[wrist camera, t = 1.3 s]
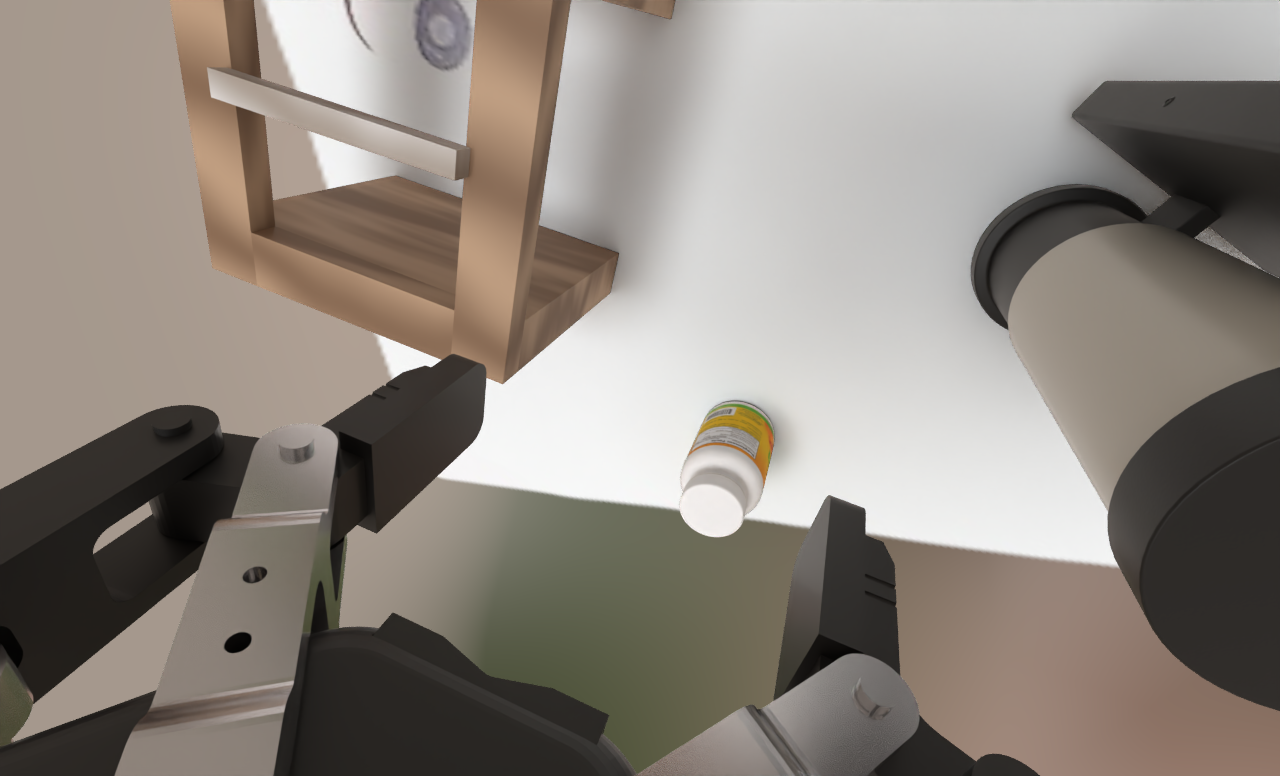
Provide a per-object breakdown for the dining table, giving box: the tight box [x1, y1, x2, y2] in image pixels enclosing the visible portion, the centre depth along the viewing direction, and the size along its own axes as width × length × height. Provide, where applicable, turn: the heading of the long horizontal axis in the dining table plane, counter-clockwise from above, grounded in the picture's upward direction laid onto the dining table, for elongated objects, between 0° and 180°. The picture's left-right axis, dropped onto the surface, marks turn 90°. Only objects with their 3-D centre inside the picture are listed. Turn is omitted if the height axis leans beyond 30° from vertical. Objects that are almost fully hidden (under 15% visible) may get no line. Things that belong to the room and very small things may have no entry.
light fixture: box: [971, 81, 1280, 711], centre depth 21 cm, size 12×11×25 cm
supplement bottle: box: [679, 402, 775, 537], centre depth 40 cm, size 5×5×10 cm
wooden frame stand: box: [170, 0, 675, 384], centre depth 31 cm, size 20×18×16 cm
